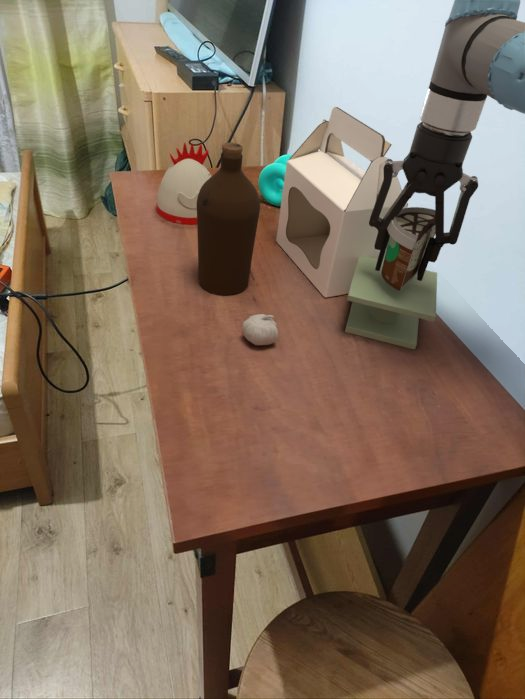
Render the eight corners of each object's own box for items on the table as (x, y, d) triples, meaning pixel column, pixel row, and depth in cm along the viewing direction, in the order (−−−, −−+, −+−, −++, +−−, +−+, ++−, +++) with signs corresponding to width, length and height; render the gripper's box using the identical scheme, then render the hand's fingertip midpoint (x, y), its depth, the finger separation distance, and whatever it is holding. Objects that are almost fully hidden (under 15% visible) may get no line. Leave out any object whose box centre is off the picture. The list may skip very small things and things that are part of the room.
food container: (392, 252, 90) (409, 198, 83) (424, 265, 88) (444, 211, 81) (361, 279, 82) (377, 222, 75) (396, 295, 79) (416, 237, 73)
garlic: (280, 334, 85) (284, 309, 81) (273, 355, 81) (277, 329, 77) (246, 326, 86) (248, 301, 82) (237, 346, 81) (239, 320, 78)
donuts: (307, 198, 127) (314, 158, 121) (292, 213, 120) (298, 171, 114) (271, 188, 130) (276, 148, 123) (254, 201, 123) (258, 160, 116)
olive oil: (241, 303, 90) (254, 164, 74) (185, 288, 92) (186, 149, 76) (258, 274, 98) (274, 142, 82) (207, 261, 100) (212, 129, 84)
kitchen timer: (223, 224, 112) (227, 156, 102) (159, 225, 109) (157, 155, 99) (213, 196, 122) (215, 132, 113) (154, 196, 119) (152, 130, 109)
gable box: (383, 289, 99) (429, 142, 81) (325, 299, 94) (359, 145, 76) (328, 234, 114) (356, 100, 96) (274, 240, 109) (294, 100, 91)
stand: (423, 309, 95) (437, 272, 90) (420, 355, 85) (435, 316, 80) (349, 291, 97) (359, 254, 92) (338, 333, 87) (348, 295, 82)
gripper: (515, 132, 71) (457, 273, 86) (379, 106, 73) (345, 248, 88) (521, 149, 65) (457, 297, 80) (373, 120, 68) (338, 269, 83)
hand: (398, 271), depth 84 cm, fingers closed on food container, 6 cm apart
